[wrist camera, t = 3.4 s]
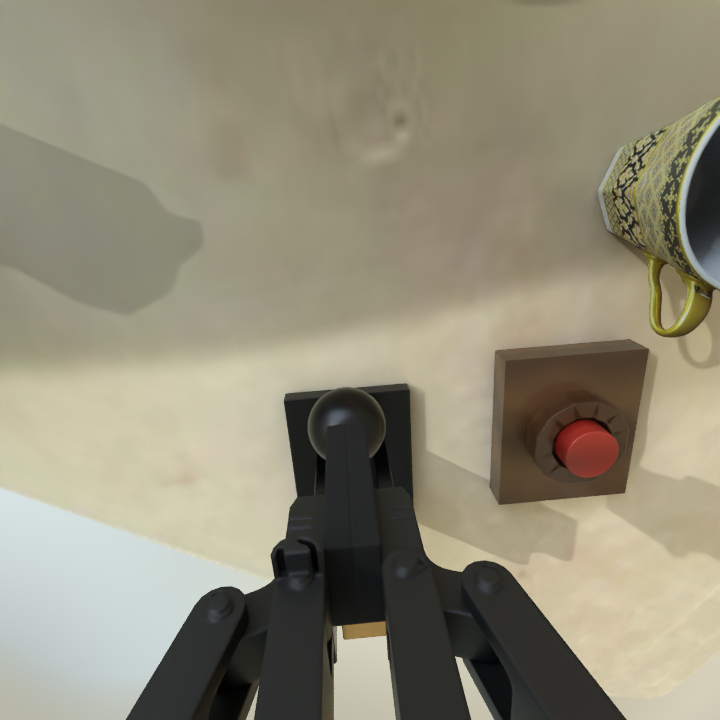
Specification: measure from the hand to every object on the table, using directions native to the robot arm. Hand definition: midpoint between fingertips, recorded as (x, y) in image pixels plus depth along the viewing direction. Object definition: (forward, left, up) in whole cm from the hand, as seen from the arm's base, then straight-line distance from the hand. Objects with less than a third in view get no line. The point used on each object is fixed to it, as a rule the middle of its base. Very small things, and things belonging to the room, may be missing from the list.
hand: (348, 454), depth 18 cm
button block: (+8, +16, -15) cm, 23 cm away
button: (+8, +16, -11) cm, 21 cm away
